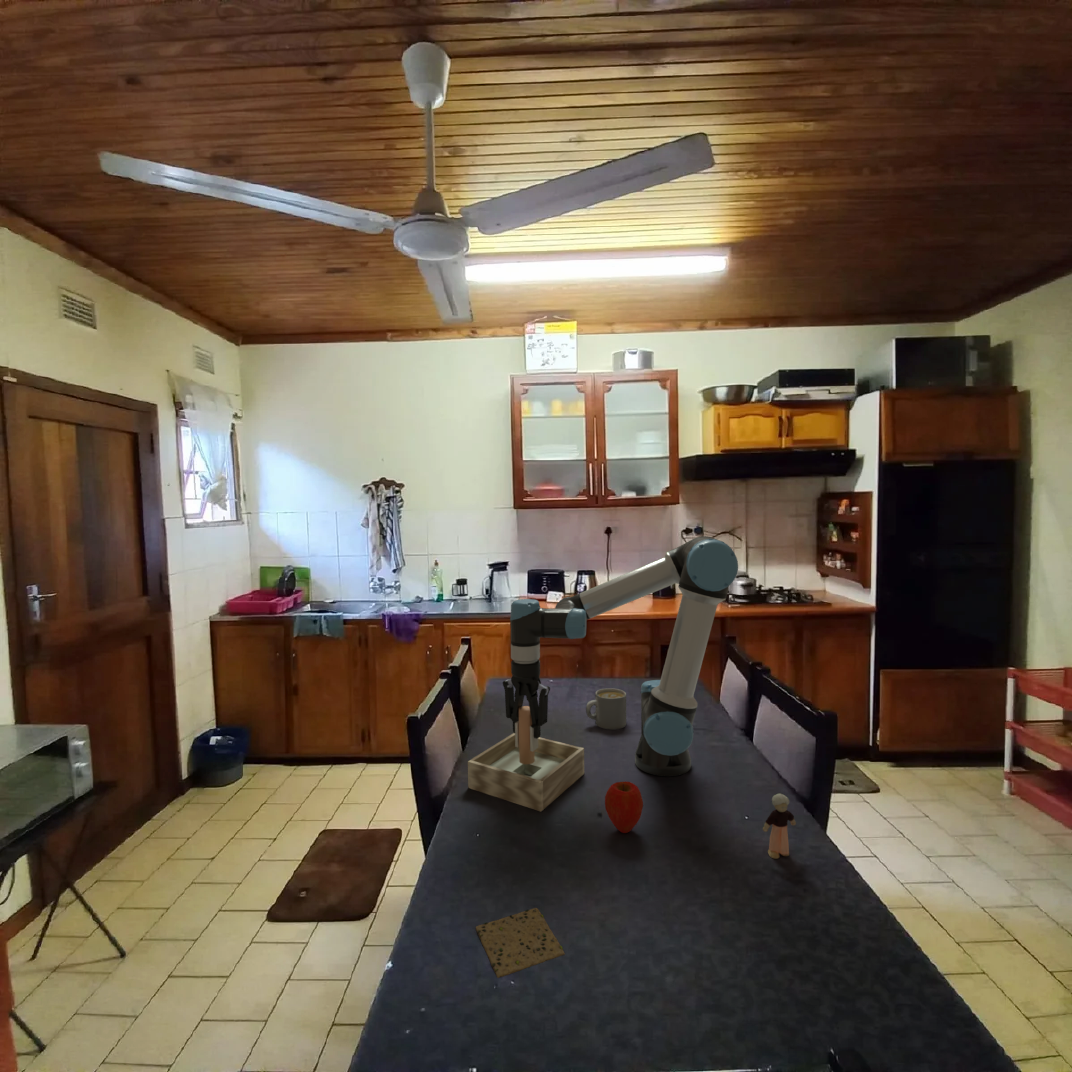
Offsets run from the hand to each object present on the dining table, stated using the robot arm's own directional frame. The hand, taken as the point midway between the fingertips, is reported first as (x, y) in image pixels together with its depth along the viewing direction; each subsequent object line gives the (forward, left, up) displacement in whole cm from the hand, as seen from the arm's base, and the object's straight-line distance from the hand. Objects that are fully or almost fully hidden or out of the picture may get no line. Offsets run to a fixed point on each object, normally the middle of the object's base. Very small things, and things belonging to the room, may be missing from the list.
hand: (526, 747), depth 153 cm
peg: (0, 0, -4) cm, 4 cm away
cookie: (-29, +47, -10) cm, 56 cm away
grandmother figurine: (-62, -1, -9) cm, 63 cm away
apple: (-31, +8, -9) cm, 33 cm away
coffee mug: (-1, -45, -9) cm, 46 cm away
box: (0, 0, -9) cm, 9 cm away
